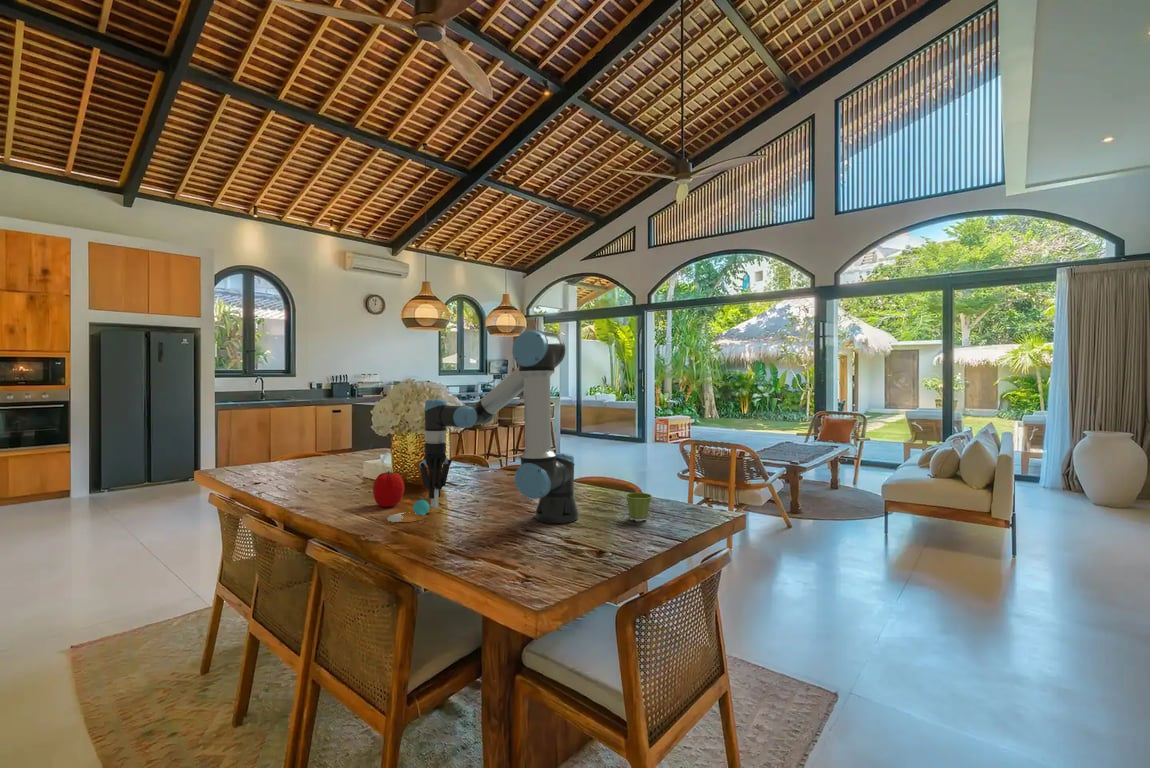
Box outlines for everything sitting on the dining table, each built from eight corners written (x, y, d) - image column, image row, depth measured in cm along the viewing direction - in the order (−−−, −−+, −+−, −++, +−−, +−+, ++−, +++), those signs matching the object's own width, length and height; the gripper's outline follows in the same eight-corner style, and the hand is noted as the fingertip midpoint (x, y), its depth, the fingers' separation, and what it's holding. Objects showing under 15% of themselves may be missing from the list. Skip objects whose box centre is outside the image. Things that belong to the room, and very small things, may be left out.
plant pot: (624, 523, 182) (624, 497, 182) (625, 515, 192) (625, 491, 191) (652, 524, 181) (652, 499, 181) (651, 517, 191) (651, 492, 190)
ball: (422, 496, 186) (411, 509, 184) (434, 506, 188) (423, 519, 185) (419, 496, 191) (408, 508, 188) (430, 505, 192) (419, 518, 190)
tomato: (364, 508, 197) (364, 472, 196) (388, 501, 208) (388, 467, 208) (389, 511, 192) (389, 475, 192) (411, 504, 203) (412, 469, 203)
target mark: (433, 514, 189) (433, 513, 189) (413, 524, 177) (413, 523, 177) (400, 511, 192) (400, 511, 192) (379, 521, 180) (379, 520, 180)
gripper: (445, 439, 199) (444, 502, 200) (413, 442, 190) (412, 508, 190) (456, 441, 194) (455, 505, 195) (424, 444, 185) (424, 512, 185)
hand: (434, 506), depth 192 cm, fingers closed
